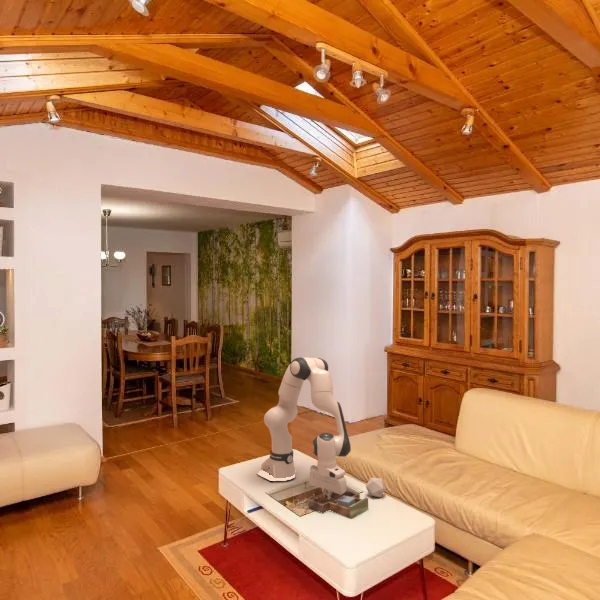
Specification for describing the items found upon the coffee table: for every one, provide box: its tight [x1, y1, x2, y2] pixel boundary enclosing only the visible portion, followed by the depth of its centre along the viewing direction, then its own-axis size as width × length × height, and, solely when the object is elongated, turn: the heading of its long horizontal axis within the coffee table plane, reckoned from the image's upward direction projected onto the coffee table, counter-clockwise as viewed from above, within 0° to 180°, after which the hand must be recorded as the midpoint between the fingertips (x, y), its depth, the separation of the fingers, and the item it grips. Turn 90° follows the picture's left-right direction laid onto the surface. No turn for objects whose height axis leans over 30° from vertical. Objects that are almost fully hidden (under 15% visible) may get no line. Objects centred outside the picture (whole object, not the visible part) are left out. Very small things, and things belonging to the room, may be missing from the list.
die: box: [365, 476, 387, 498], centre depth 232 cm, size 8×9×10 cm
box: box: [308, 489, 369, 519], centre depth 221 cm, size 24×21×5 cm
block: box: [336, 495, 355, 508], centre depth 219 cm, size 6×6×4 cm
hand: (327, 498), depth 226 cm, fingers closed
